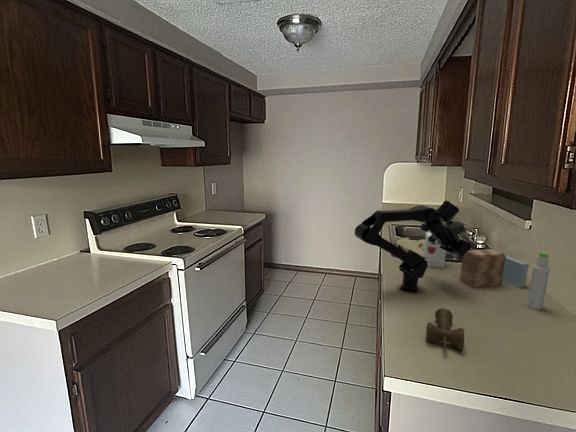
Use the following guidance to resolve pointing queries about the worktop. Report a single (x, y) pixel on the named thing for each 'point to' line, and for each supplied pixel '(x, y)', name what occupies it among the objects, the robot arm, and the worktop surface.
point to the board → (515, 272)
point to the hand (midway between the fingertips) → (459, 255)
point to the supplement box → (433, 253)
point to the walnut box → (482, 268)
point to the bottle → (539, 282)
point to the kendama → (445, 330)
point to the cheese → (412, 245)
